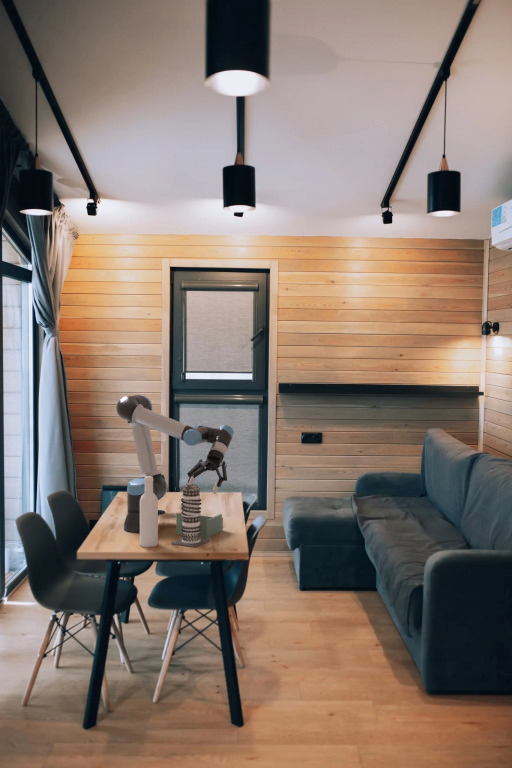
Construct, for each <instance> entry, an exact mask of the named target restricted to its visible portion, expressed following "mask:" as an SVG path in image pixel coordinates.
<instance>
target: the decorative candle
mask: <svg viewBox="0 0 512 768" xmlns="http://www.w3.org/2000/svg"><path fill="white" fill-rule="evenodd" d="M200 490H201V488H200V487H199V485H198V484H196V483H195V484H194V483H193V484H188V483H187V484H185V485H184V486H183V487H182V498H181V499H180V502H181V503H180V504H181V505H180V506H181V507H180V509H181V512H180V513H182V516H183V521H182V528H183V529H182V531H183V532H182V535H181V539H182V542H183V543H188V544H193V543H198V542H200V538H201V536H200V535H201V532H200V530H201V529H200V527H201V525H200V515H201V513H202V511H201V510H202V507H200V506H201V505H202V502H201V501H202V499H201V494H200ZM201 516H202V515H201ZM201 539H202V538H201Z"/></svg>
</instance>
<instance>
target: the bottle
mask: <svg viewBox="0 0 512 768" xmlns="http://www.w3.org/2000/svg"><path fill="white" fill-rule="evenodd" d="M144 481H145V493H144V494H143V495H142V496H141V499H140V532H139V545H140V547H143V548H153V547H157V546H158V544H159V533H158V532H159V524H158V523H159V515H158V510H159V506H158V505H159V500H158V499H157V496H156V495H155V494H154V493H153V477H152V476H146V477H145V479H144Z"/></svg>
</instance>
